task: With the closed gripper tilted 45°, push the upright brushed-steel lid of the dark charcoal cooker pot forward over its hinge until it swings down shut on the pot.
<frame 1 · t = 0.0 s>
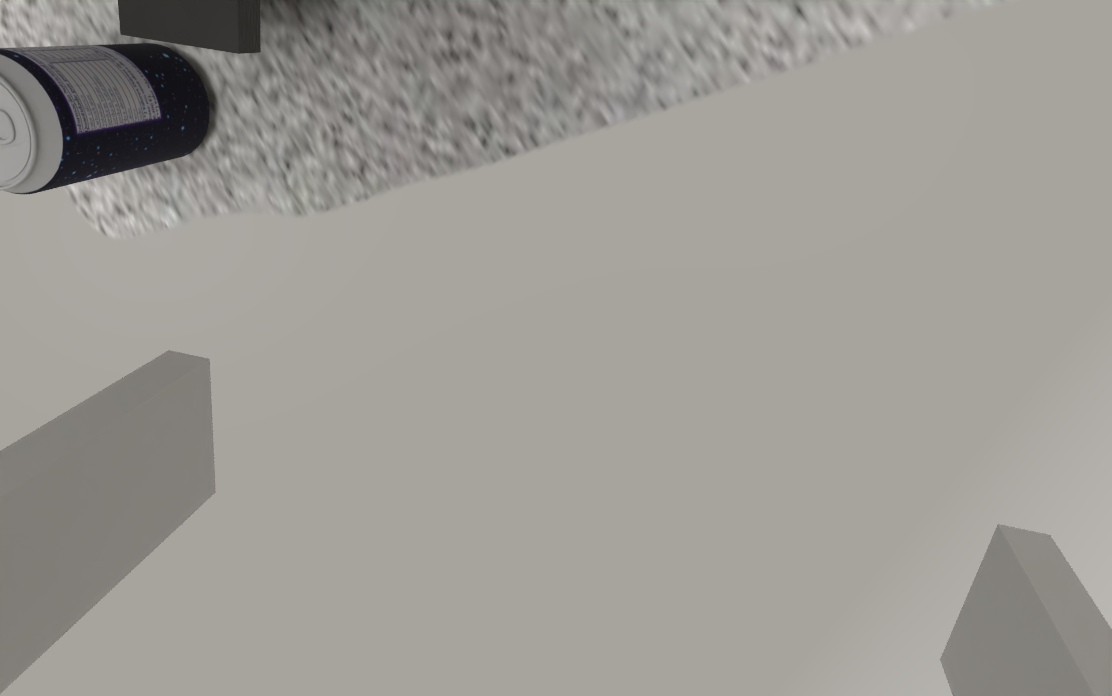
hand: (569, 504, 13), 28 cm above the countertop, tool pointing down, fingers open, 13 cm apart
beverage can: (172, 100, 42), on the countertop
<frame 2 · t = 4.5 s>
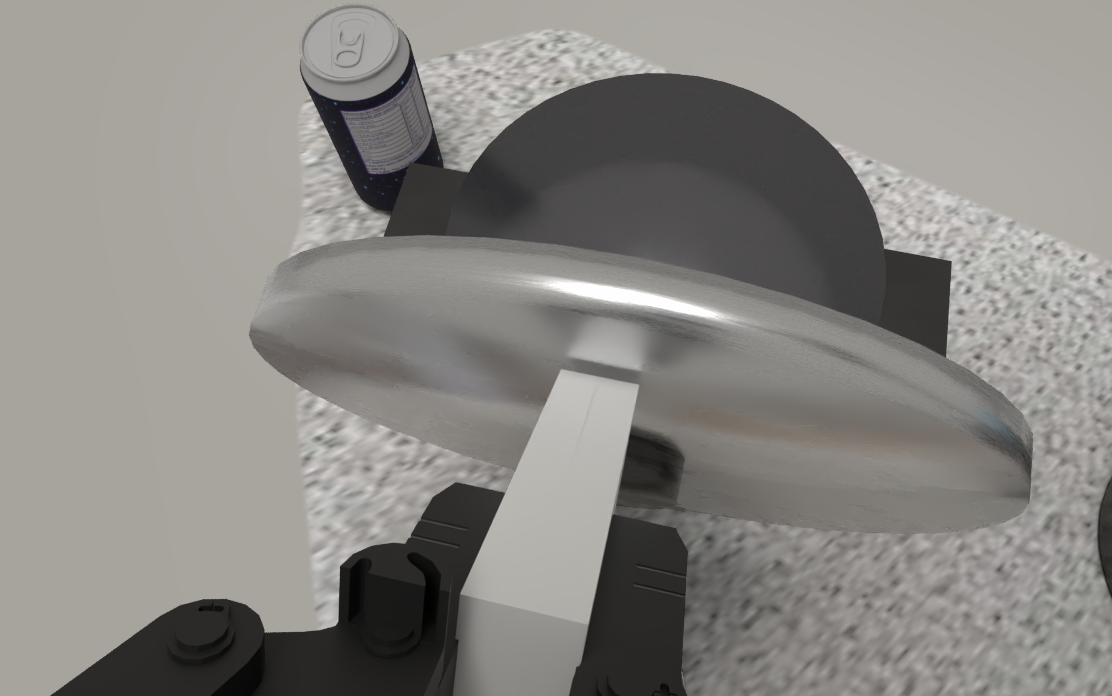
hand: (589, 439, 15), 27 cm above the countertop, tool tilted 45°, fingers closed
cooker pot: (646, 333, 46), on the countertop
beverage can: (401, 182, 50), on the countertop
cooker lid: (613, 446, 22), point 20 cm above the countertop, hinge at 94.2°, touching gripper
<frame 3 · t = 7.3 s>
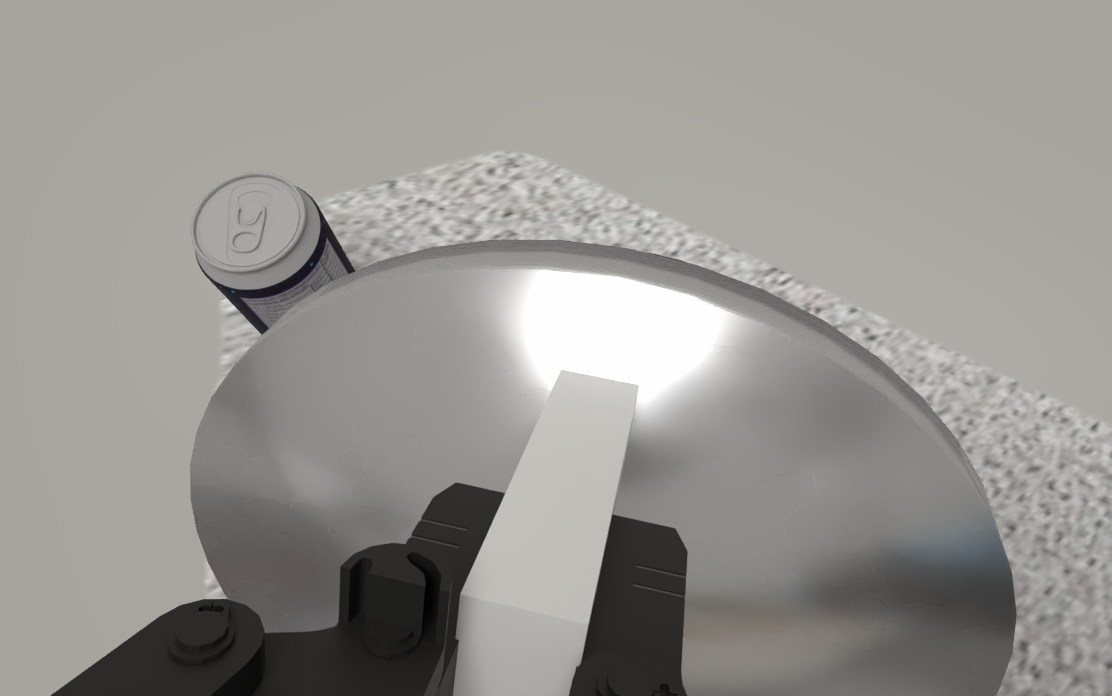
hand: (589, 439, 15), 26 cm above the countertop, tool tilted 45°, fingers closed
beverage can: (332, 333, 45), on the countertop
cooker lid: (564, 623, 20), point 20 cm above the countertop, hinge at 58.5°, touching gripper
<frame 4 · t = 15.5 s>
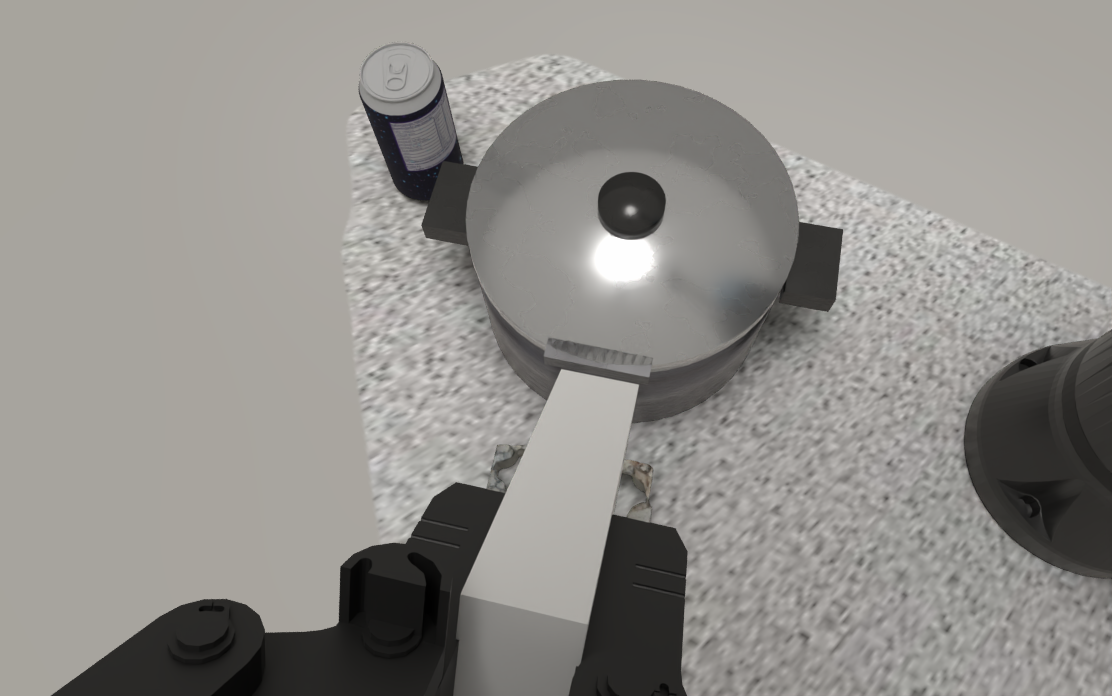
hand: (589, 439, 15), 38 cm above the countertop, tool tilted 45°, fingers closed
cooker pot: (623, 292, 59), on the countertop
beverage can: (430, 177, 64), on the countertop
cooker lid: (630, 213, 48), point 11 cm above the countertop, hinge at -0.1°
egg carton: (567, 516, 53), on the countertop
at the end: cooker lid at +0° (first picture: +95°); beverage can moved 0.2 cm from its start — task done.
